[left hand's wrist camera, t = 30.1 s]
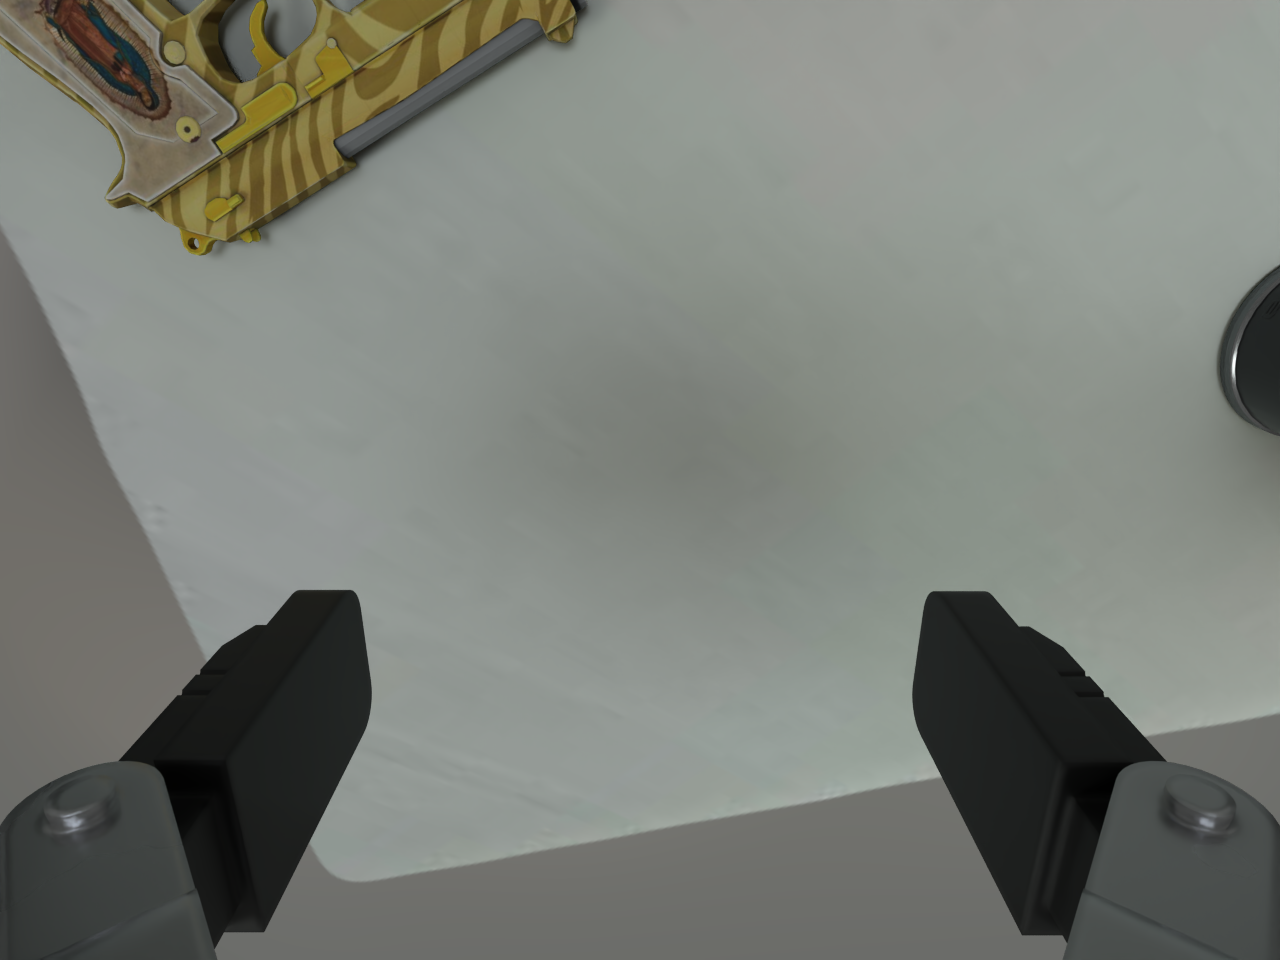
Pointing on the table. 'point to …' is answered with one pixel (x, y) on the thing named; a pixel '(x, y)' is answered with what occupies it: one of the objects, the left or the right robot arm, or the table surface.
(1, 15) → the handgun
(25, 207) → the table surface
